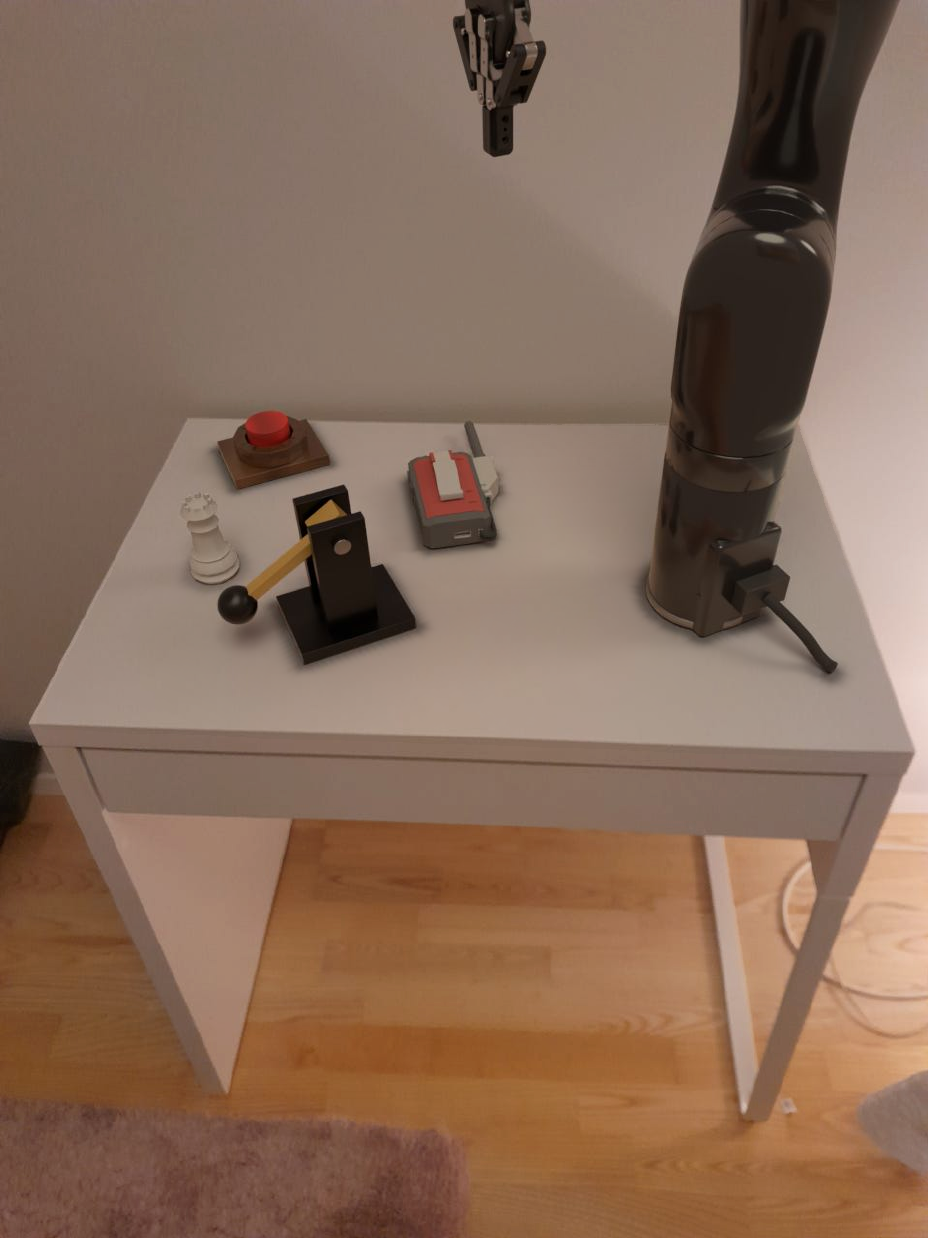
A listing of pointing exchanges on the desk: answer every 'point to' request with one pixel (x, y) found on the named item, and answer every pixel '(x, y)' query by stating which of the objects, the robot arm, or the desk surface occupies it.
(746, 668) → the desk surface
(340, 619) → the black lever base
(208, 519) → the rook chess piece
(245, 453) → the block
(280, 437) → the button
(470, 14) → the robot arm
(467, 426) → the walkie-talkie
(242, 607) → the lever
